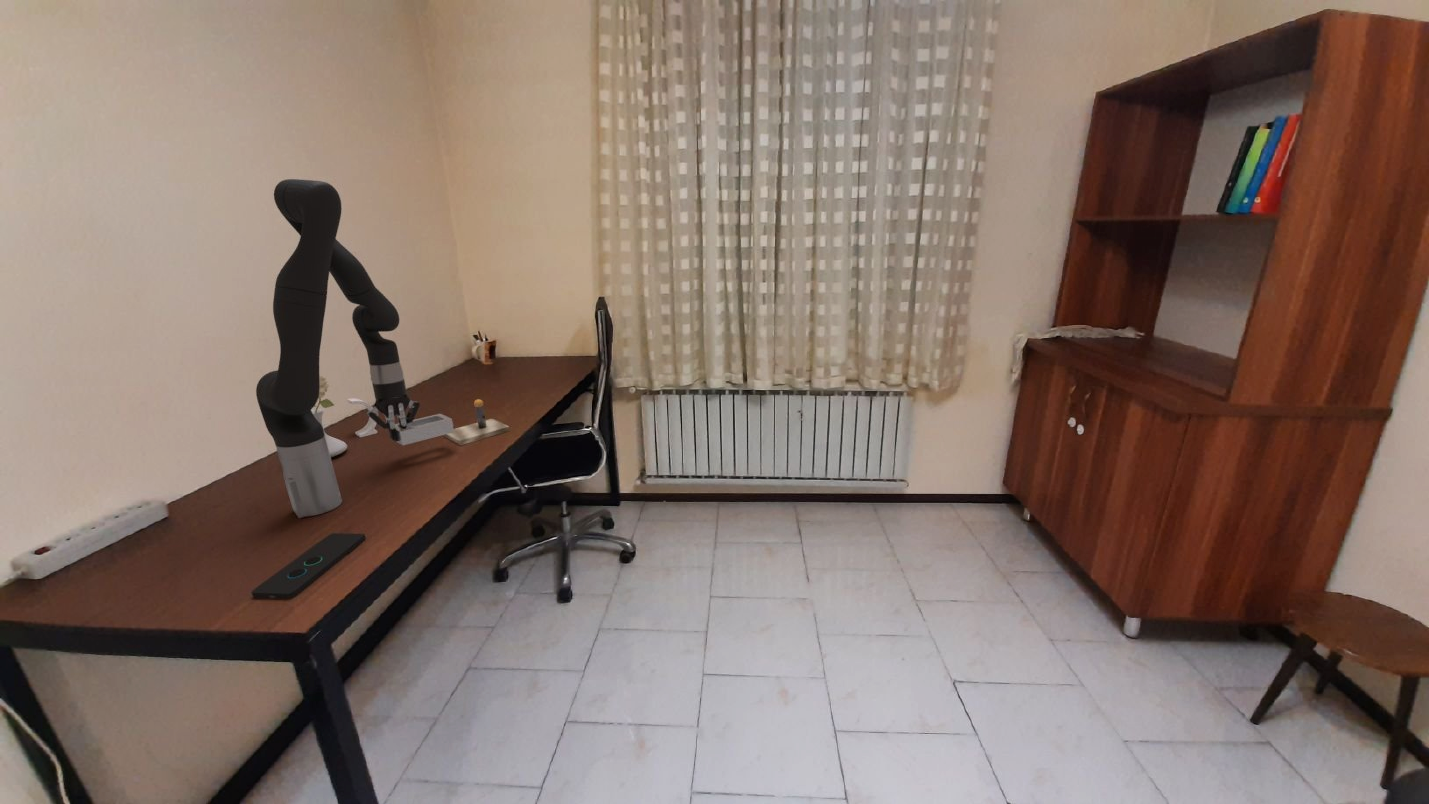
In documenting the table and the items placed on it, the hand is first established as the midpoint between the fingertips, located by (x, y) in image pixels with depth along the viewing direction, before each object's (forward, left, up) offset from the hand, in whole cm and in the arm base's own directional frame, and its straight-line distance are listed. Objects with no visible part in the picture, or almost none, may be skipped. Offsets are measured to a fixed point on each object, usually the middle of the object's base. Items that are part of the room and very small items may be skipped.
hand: (399, 439), depth 153 cm
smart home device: (-30, -40, -8) cm, 51 cm away
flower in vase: (-13, +24, -7) cm, 28 cm away
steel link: (+6, 0, -1) cm, 6 cm away
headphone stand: (+1, +36, -7) cm, 36 cm away
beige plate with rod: (+24, +7, -7) cm, 26 cm away
